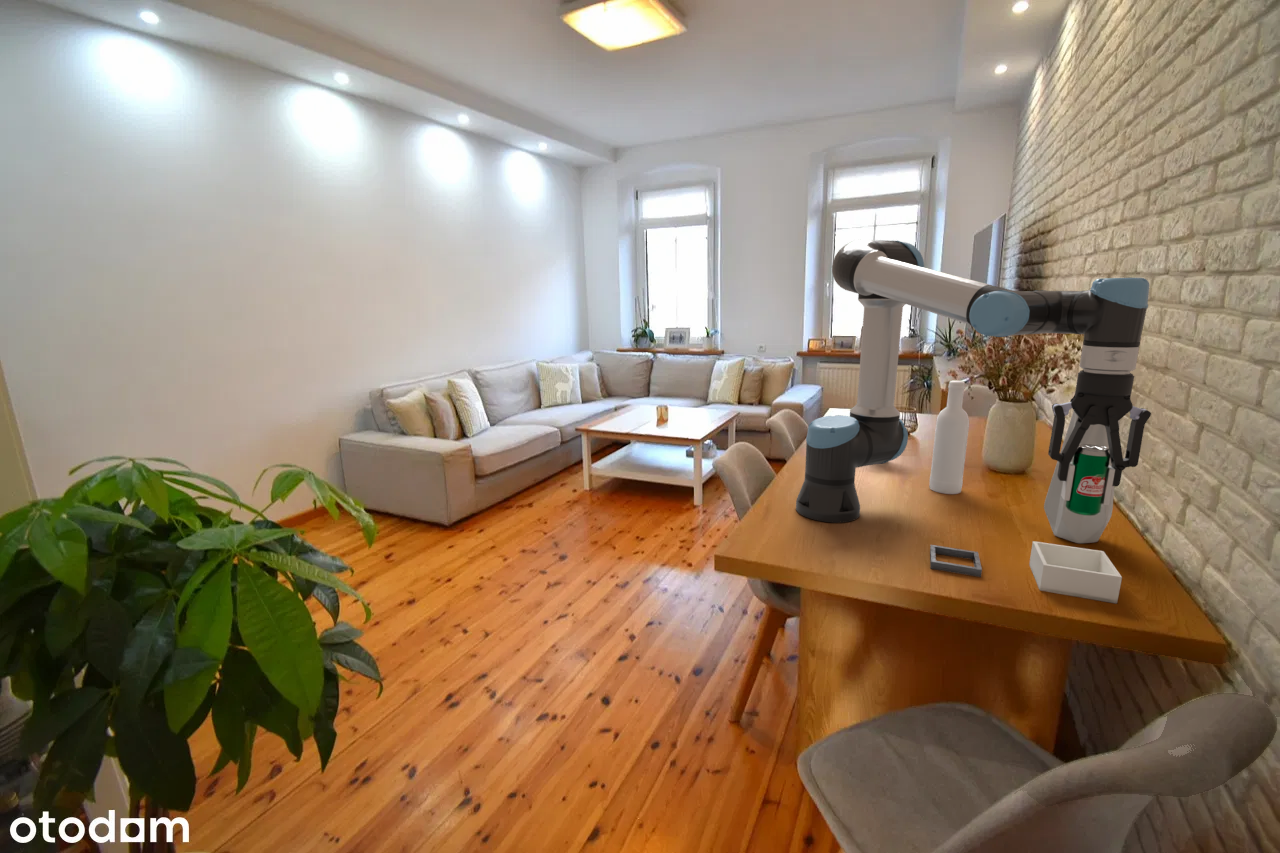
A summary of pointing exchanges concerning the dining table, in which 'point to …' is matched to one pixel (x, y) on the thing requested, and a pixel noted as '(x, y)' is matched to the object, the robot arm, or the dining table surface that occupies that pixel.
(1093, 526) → the vase
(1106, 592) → the bin
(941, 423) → the bottle
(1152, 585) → the dining table surface
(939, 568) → the socket ring
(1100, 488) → the soda can
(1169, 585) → the dining table surface
